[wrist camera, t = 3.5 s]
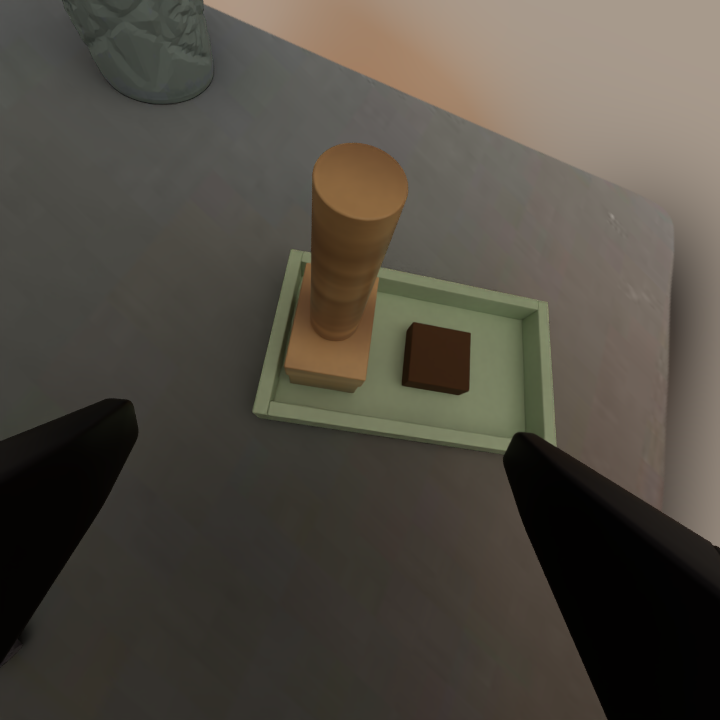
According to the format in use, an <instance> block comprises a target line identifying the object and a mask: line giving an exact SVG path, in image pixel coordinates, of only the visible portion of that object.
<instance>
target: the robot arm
mask: <svg viewBox="0 0 720 720" xmlns="http://www.w3.org/2000/svg"><path fill="white" fill-rule="evenodd" d="M137 437H138V425H137V420H136V415H135V411H134V406H133V404H132V402H131V401H129V400H127V399H115V398H109V399H105V400H102V401H100V402H97V403H95V404H92V405H90V406H87V407H85V408H82V409H80V410H77V411H75V412H72V413H70V414H67V415H65V416H62V417H60V418H57V419H55V420H52V421H50V422H47V423H45V424H42V425H40V426H37V427H35V428H32V429H30V430H27V431H25V432H22V433H20V434H17V435H15V436H12V437H10V438H7V439H5V440H2V441H0V665H1V663H2V662H3V660H4V659H5V657H6V656H7V654H8V652H9V651H10V649H11V648H12V646H13V645H14V643H15V642H16V640H17V639H18V637H19V635H20V634H21V632H22V631H23V629H24V628H25V626H26V625H27V623H28V621H29V620H30V618H31V617H32V615H33V614H34V612H35V611H36V609H37V608H38V606H39V604H40V603H41V601H42V600H43V598H44V597H45V595H46V594H47V592H48V590H49V589H50V587H51V586H52V584H53V583H54V581H55V580H56V578H57V577H58V575H59V573H60V572H61V570H62V569H63V567H64V566H65V564H66V563H67V561H68V559H69V558H70V556H71V555H72V553H73V552H74V550H75V549H76V547H77V546H78V544H79V542H80V541H81V539H82V538H83V536H84V535H85V533H86V532H87V530H88V528H89V527H90V525H91V524H92V522H93V521H94V519H95V518H96V516H97V514H98V513H99V511H100V510H101V508H102V506H103V505H104V503H105V501H106V499H107V497H108V495H109V493H110V492H111V490H112V488H113V486H114V484H115V482H116V480H117V478H118V476H119V474H120V472H121V470H122V468H123V466H124V464H125V462H126V460H127V458H128V456H129V454H130V452H131V450H132V448H133V446H134V444H135V442H136V440H137ZM503 464H504V468H505V471H506V474H507V477H508V480H509V483H510V486H511V489H512V492H513V495H514V498H515V501H516V505H517V508H518V511H519V514H520V517H521V519H522V522H523V525H524V527H525V530H526V532H527V535H528V537H529V539H530V541H531V544H532V546H533V548H534V551H535V553H536V555H537V558H538V560H539V562H540V565H541V567H542V569H543V572H544V574H545V576H546V578H547V581H548V583H549V585H550V588H551V590H552V592H553V595H554V597H555V599H556V602H557V604H558V606H559V609H560V611H561V613H562V615H563V618H564V620H565V622H566V625H567V627H568V629H569V632H570V634H571V636H572V639H573V641H574V643H575V646H576V648H577V650H578V652H579V655H580V657H581V659H582V662H583V664H584V666H585V669H586V671H587V673H588V676H589V678H590V680H591V683H592V685H593V687H594V689H595V692H596V694H597V696H598V699H599V701H600V703H601V706H602V708H603V710H604V713H605V715H606V717H607V719H608V720H720V548H719V547H717V546H713V545H712V544H711V542H709V541H708V540H706V539H704V538H703V537H701V536H700V535H698V534H696V533H695V532H693V531H691V530H690V529H688V528H687V527H685V526H683V525H682V524H680V523H679V522H677V521H675V520H674V519H672V518H670V517H669V516H667V515H666V514H664V513H662V512H661V511H659V510H657V509H656V508H654V507H653V506H651V505H649V504H648V503H646V502H645V501H643V500H641V499H640V498H638V497H636V496H635V495H633V494H632V493H630V492H628V491H627V490H625V489H624V488H622V487H620V486H619V485H617V484H615V483H614V482H612V481H611V480H609V479H607V478H606V477H604V476H602V475H601V474H599V473H598V472H596V471H594V470H593V469H591V468H590V467H588V466H586V465H585V464H583V463H581V462H580V461H578V460H577V459H575V458H573V457H572V456H570V455H569V454H567V453H565V452H564V451H562V450H560V449H559V448H557V447H556V446H554V445H552V444H551V443H549V442H547V441H546V440H544V439H543V438H541V437H539V436H538V435H536V434H534V433H530V432H517V433H515V434H514V435H513V437H512V439H511V441H510V443H509V445H508V447H507V450H506V452H505V454H504V457H503Z"/></svg>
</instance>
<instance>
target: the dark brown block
mask: <svg viewBox="0 0 720 720" xmlns="http://www.w3.org/2000/svg"><path fill="white" fill-rule="evenodd" d="M470 347H471V333H469V332H464V331H459V330H454V329H448V328H443V327H438V326H433V325H428V324H422V323H417V322H413V323H412V324H411V325H410V327H409V328H408V329H407V331H406V342H405V352H404V363H403V374H402V386H406V387H412V388H418V389H424V390H429V391H435V392H441V393H447V394H453V395H461V394H463V393H466V392H468V391H469V389H470Z"/></svg>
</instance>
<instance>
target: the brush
mask: <svg viewBox="0 0 720 720" xmlns="http://www.w3.org/2000/svg"><path fill="white" fill-rule="evenodd" d="M407 195H408V182H407V178H406V175H405V173H404V171H403V169H402V167H401V166H400V165H399V163H398V162H397V161H396V160H395V159H394V158H393V157H391V156H390V155H389V154H387V153H386V152H384V151H382V150H381V149H379V148H376V147H374V146H370V145H367V144H362V143H344V144H340V145H336V146H334V147H332V148H330V149H328V150H326V151H325V152H324V153H323V154H322V155H321V156H320V157H319V158H318V160H317V162H316V163H315V166H314V169H313V174H312V234H311V263H306V266H305V271H304V275H303V280H302V284H301V289H300V294H299V298H298V303H297V308H296V312H295V317H294V321H293V326H292V331H291V335H290V340H289V344H288V349H287V354H286V358H285V363H284V368H285V372H286V374H287V375H289V379H290V383H293V384H299V385H305V386H311V387H317V388H323V389H329V390H336V391H342V392H348V393H354V392H355V390H356V389H357V388H358V387H361V386H362V384H363V383H364V382H365V380H366V375H367V367H368V359H369V352H370V344H371V336H372V329H373V321H374V313H375V306H376V298H377V290H378V282H379V278H378V277H377V275H378V272H379V270H380V267H381V264H382V262H383V259H384V257H385V254H386V251H387V249H388V246H389V243H390V241H391V238H392V235H393V233H394V230H395V228H396V225H397V222H398V220H399V217H400V214H401V212H402V209H403V207H404V204H405V201H406V199H407Z"/></svg>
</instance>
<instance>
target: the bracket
mask: <svg viewBox="0 0 720 720" xmlns="http://www.w3.org/2000/svg"><path fill="white" fill-rule="evenodd" d="M22 646H23V645H22V644H21V642H20V641H19V640H18V639H17V640H16V642H15V643H14V645H13V646H12V648H11V649H10V651H9V652H8V654H7V656H6V657H5V659H4V660H3V662H2V663H1V665H0V667H1V666H3V665H4V664H5V663H6V662H7V661H8V660H9V659H11V658H12V657H13V656H14V655H15V654H16V653H17V652H18V651H19V650H20V649H21V647H22Z"/></svg>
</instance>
